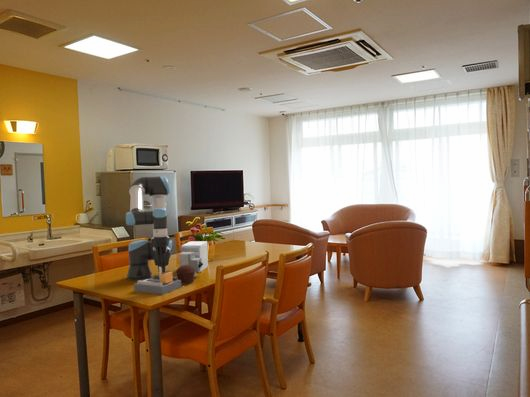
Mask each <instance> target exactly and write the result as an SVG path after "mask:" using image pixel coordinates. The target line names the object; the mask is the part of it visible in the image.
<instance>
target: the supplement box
mask: <svg viewBox="0 0 530 397" xmlns="http://www.w3.org/2000/svg"><path fill="white" fill-rule="evenodd" d="M180 248H181V250H180V251H181V252H180V253H182V252H195V258H202V263H203V265H202V270H200V271H199V272H198V273H201V272H203V271H204V270H205V269H207V268H208V267H209V259H208V255H209V254H208V251H209V250H208V241H207V240H205V241H203V240H201V241H200V240H197V241H196V240H195V241H194V240H193V241H192V240H191V241H188V242H185V243H184V244H182V245H181V246H180Z"/></svg>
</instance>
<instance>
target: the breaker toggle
mask: <svg viewBox="0 0 530 397" xmlns="http://www.w3.org/2000/svg"><path fill="white" fill-rule="evenodd" d="M173 277H174V276H173V271H171V270H167V271H166V270H165V272H163V273H161V274H160V283H168V282H171V281H173Z"/></svg>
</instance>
